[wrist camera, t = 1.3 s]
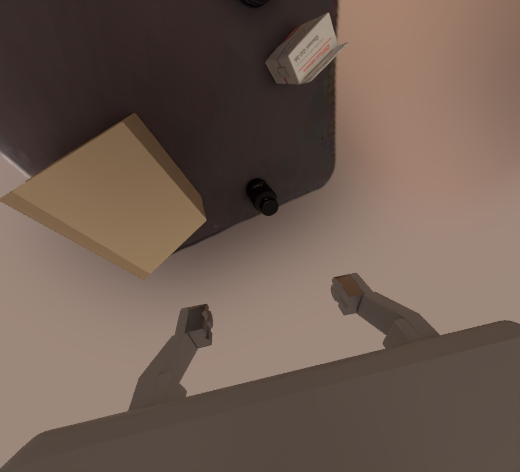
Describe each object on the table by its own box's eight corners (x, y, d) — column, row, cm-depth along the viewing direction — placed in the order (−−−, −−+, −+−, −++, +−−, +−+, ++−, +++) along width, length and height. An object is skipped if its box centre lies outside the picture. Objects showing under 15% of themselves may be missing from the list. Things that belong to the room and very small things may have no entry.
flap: (-1, 199, 23) (-2, 200, 23) (121, 121, 28) (122, 121, 28) (143, 278, 38) (143, 280, 38) (205, 219, 43) (207, 220, 43)
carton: (60, 158, 37) (24, 181, 29) (134, 112, 37) (122, 121, 28) (147, 228, 53) (141, 256, 44) (200, 196, 52) (205, 219, 43)
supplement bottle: (253, 173, 53) (268, 191, 44) (270, 183, 57) (287, 202, 48) (241, 193, 56) (253, 214, 47) (258, 201, 60) (272, 222, 51)
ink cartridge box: (294, 25, 37) (342, 2, 26) (305, 53, 40) (352, 42, 29) (263, 61, 39) (296, 54, 28) (275, 85, 42) (309, 86, 31)
